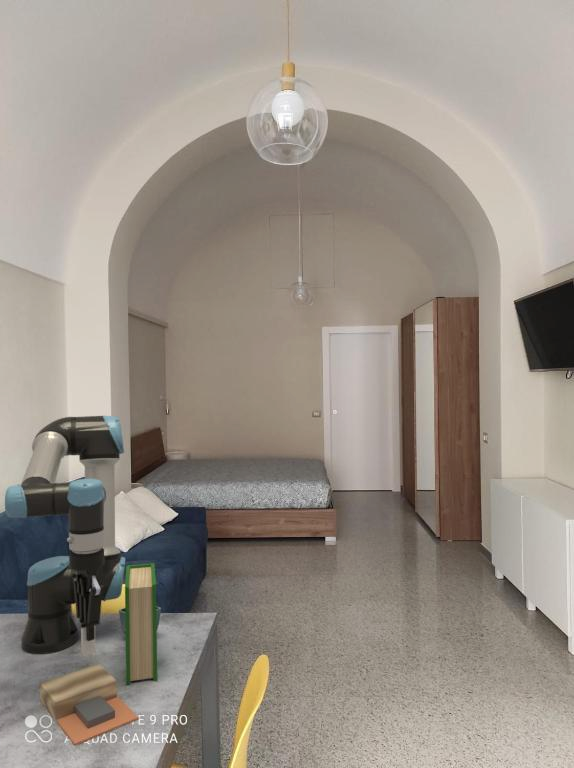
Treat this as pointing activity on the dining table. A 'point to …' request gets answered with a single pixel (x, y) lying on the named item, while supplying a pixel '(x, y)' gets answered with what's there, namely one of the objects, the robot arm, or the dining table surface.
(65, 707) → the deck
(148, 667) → the hardback book
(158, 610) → the flower pot
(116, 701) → the mat
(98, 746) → the dining table surface
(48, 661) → the dining table surface
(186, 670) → the dining table surface
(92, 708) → the gray flat block
